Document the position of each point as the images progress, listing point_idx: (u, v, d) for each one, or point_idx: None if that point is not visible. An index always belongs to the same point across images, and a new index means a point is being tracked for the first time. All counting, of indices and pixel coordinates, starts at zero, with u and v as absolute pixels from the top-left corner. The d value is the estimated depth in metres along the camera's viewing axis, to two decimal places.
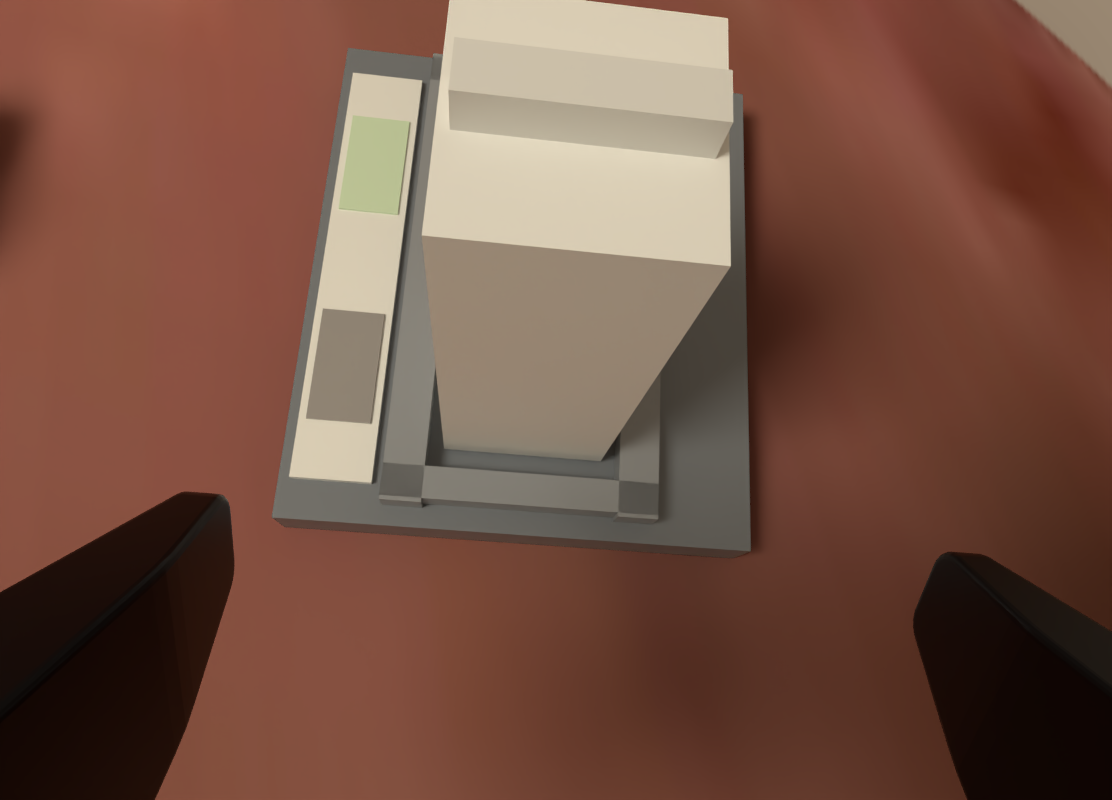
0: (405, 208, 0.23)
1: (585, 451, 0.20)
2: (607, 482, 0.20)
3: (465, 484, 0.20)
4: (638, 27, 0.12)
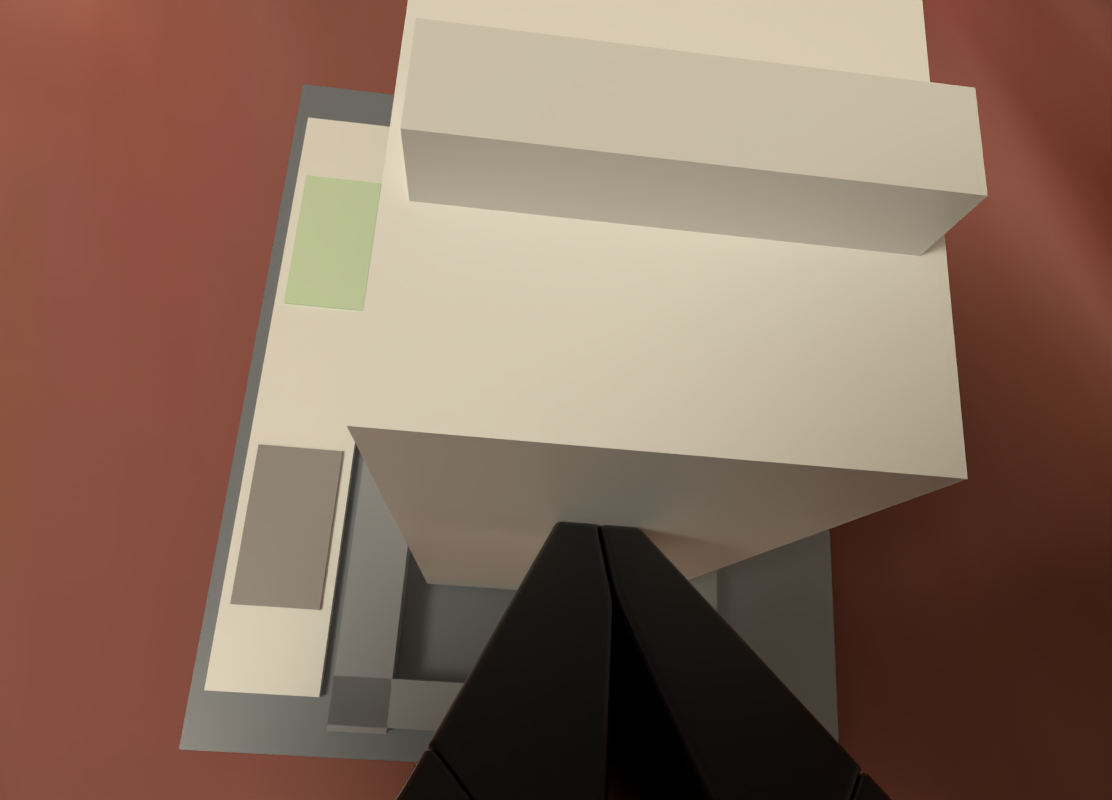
0: None
1: None
2: None
3: (449, 706, 0.14)
4: (763, 6, 0.06)
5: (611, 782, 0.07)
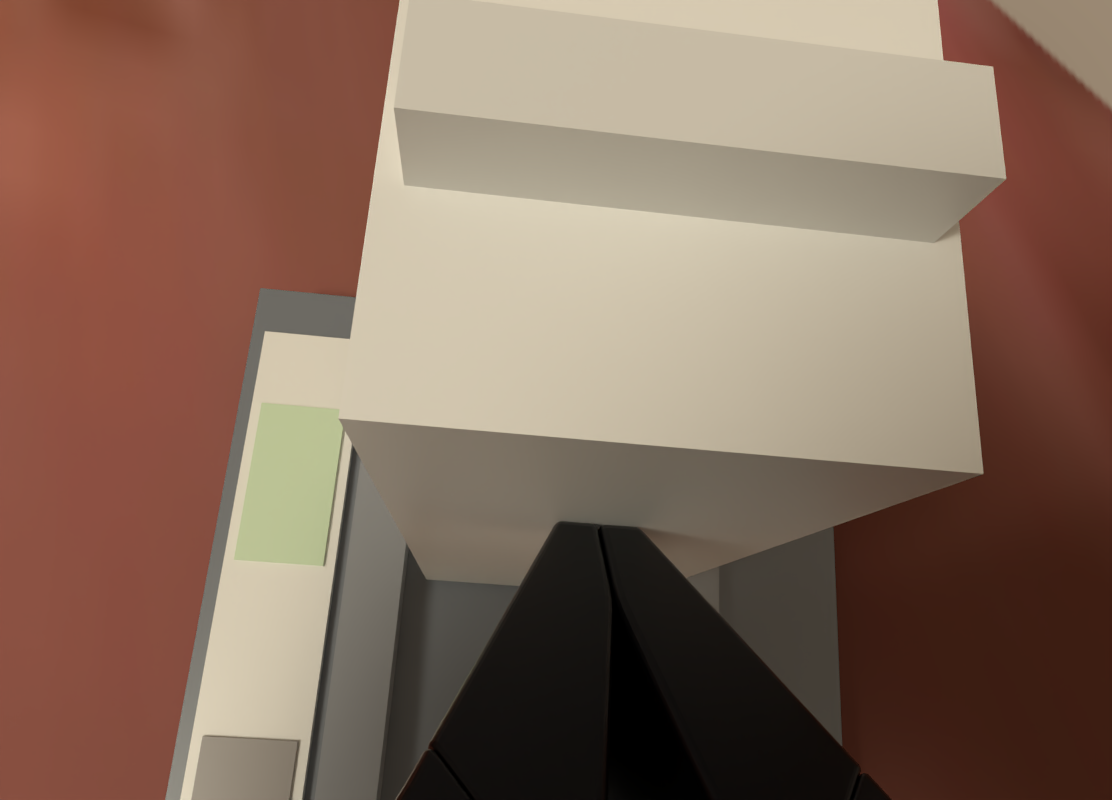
0: (335, 554, 0.15)
1: None
2: None
3: None
4: None
5: (611, 782, 0.07)
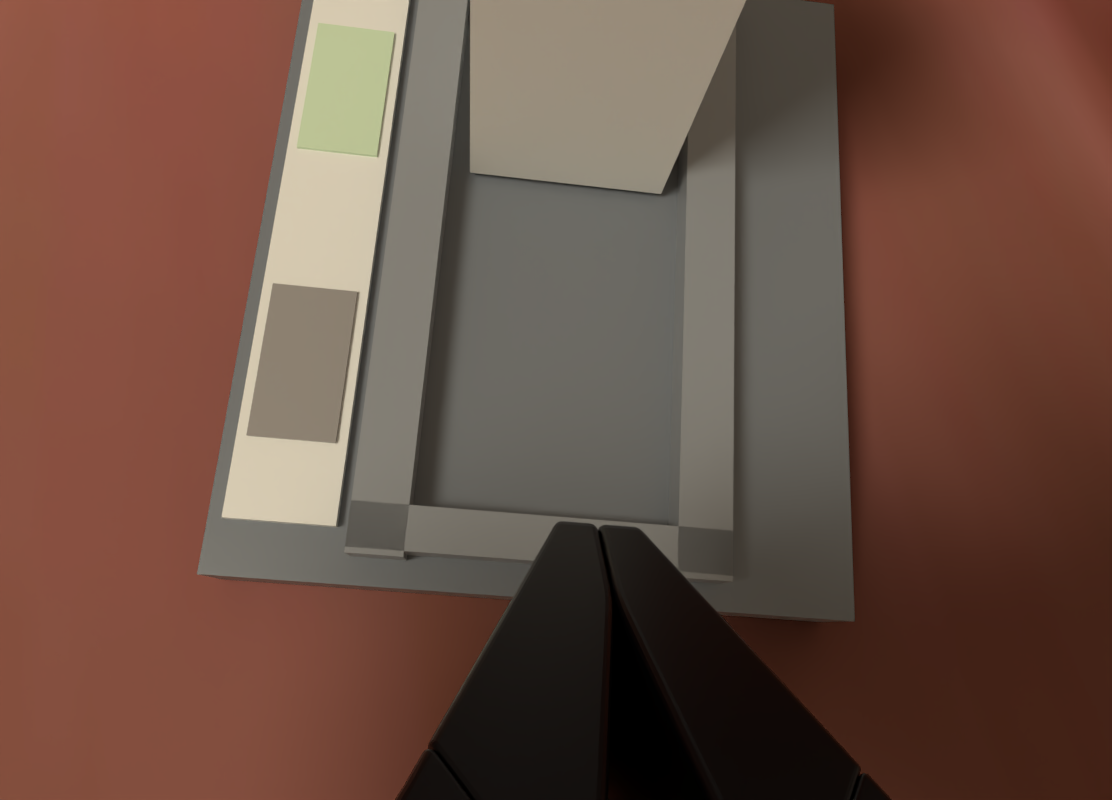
0: (387, 148, 0.17)
1: (645, 169, 0.16)
2: (662, 528, 0.15)
3: (466, 531, 0.14)
4: None
5: (611, 782, 0.07)
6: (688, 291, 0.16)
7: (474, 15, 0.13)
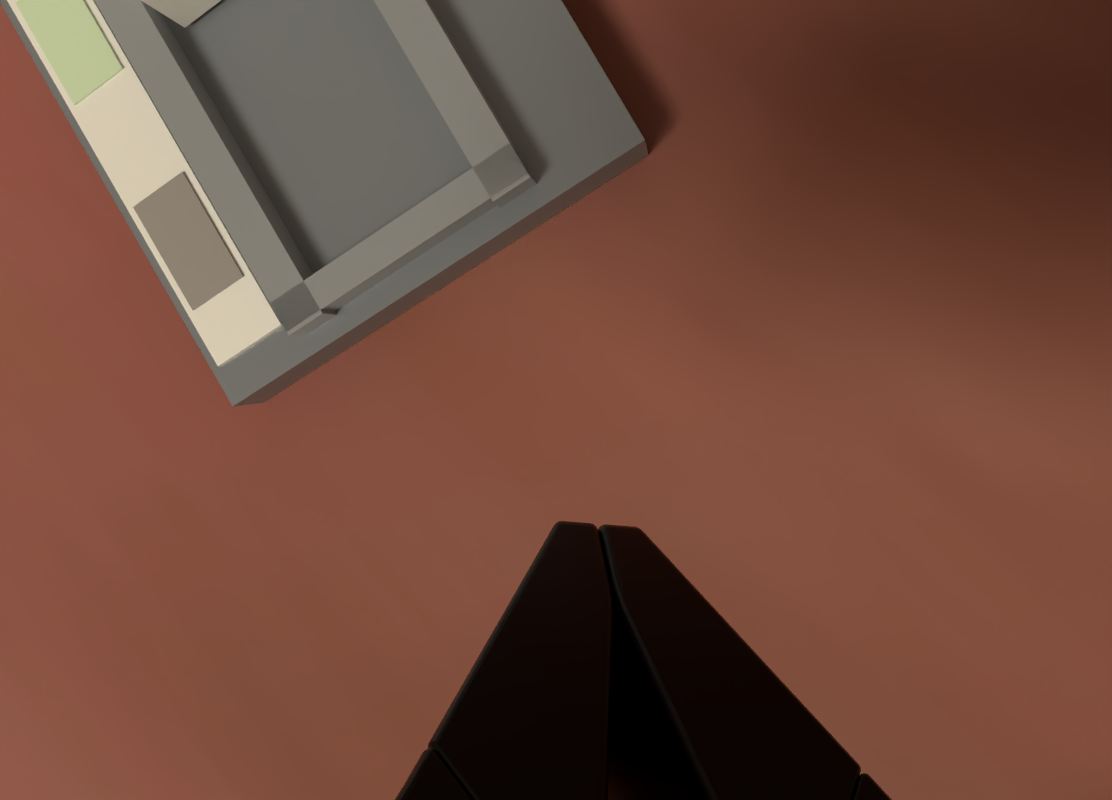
0: (125, 56, 0.20)
1: None
2: (464, 177, 0.19)
3: (346, 271, 0.19)
4: None
5: (611, 782, 0.07)
6: None
7: None
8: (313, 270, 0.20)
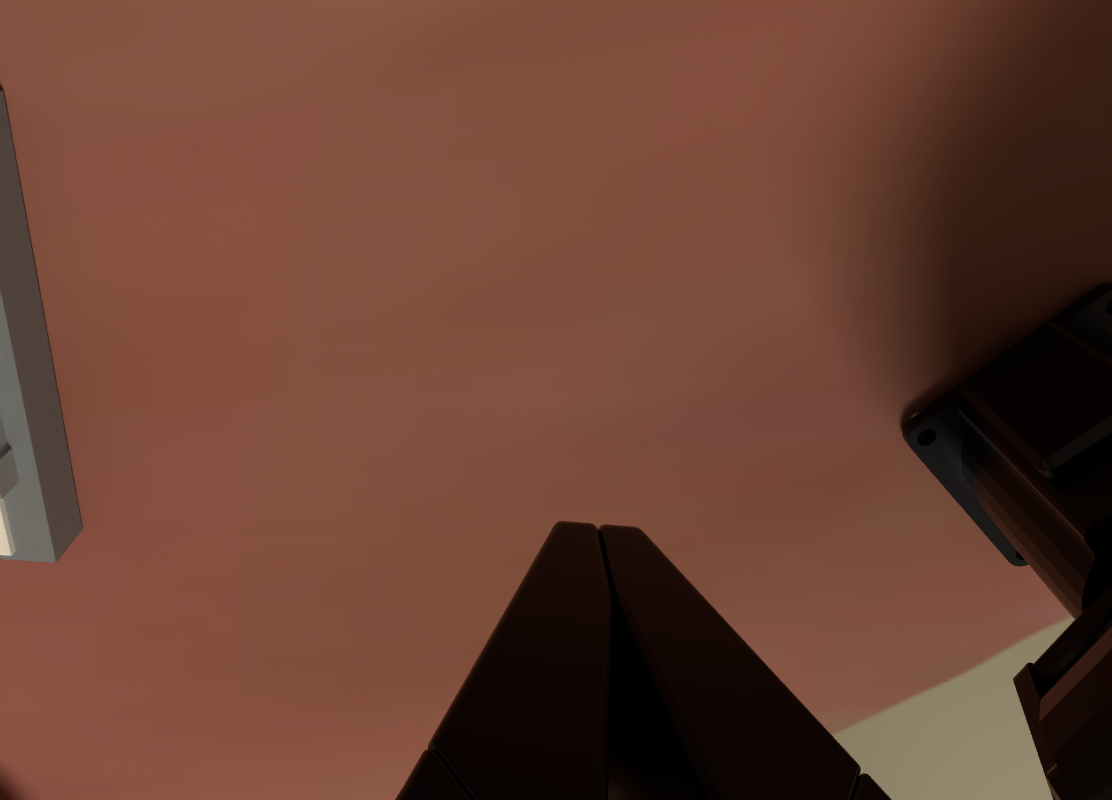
0: None
1: None
2: None
3: None
4: None
5: (611, 782, 0.07)
6: None
7: None
8: None
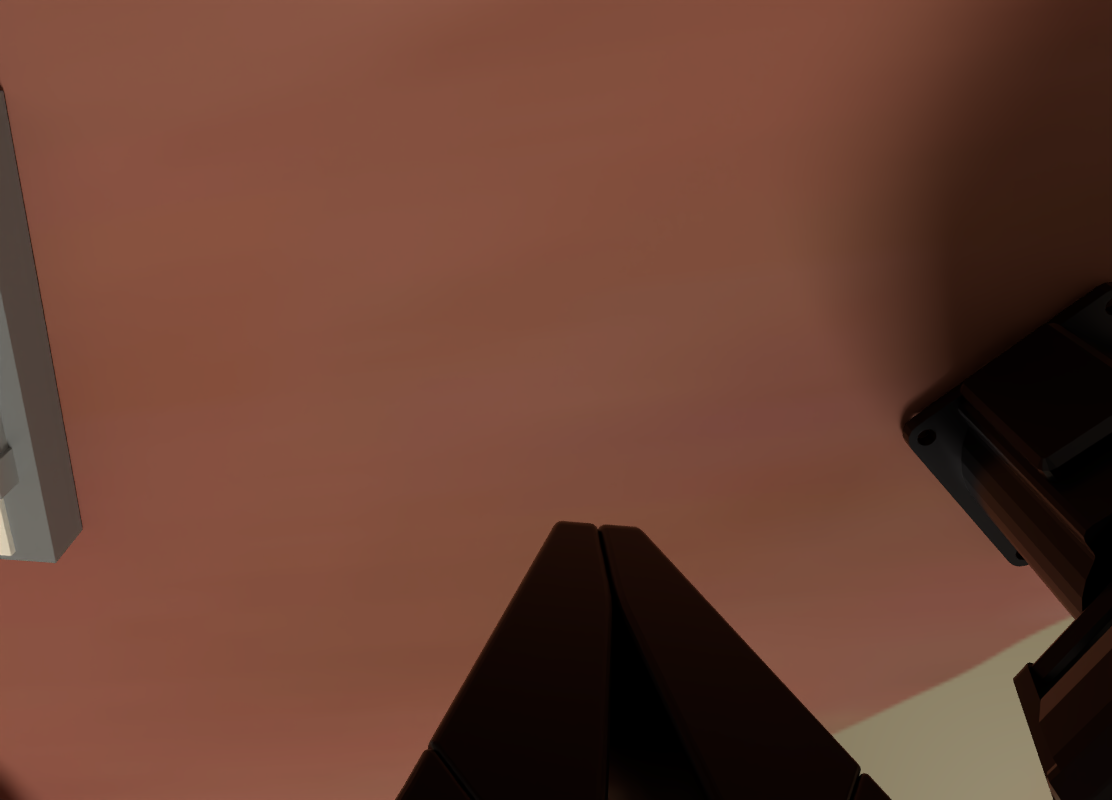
0: None
1: None
2: None
3: None
4: None
5: (611, 782, 0.07)
6: None
7: None
8: None
